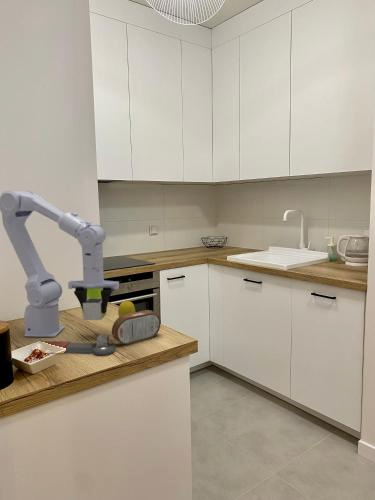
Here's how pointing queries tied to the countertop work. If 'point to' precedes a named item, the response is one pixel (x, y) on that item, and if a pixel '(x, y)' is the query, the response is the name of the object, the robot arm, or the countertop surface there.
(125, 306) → the lemon
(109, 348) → the ratchet
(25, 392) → the countertop surface
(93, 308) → the socket
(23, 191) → the robot arm
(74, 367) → the countertop surface
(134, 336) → the tin
